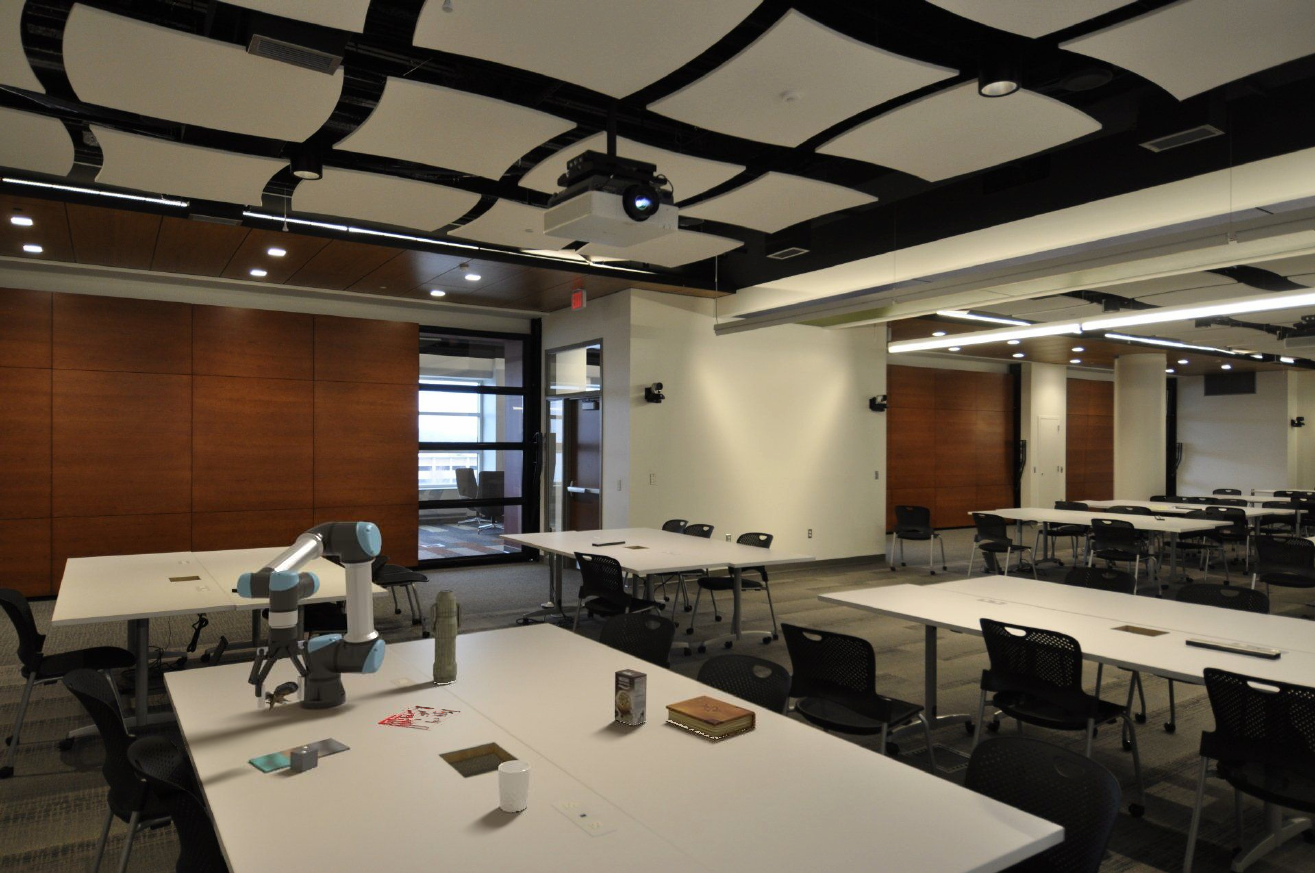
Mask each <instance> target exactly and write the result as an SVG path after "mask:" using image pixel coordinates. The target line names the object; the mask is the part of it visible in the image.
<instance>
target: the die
mask: <svg viewBox="0 0 1315 873" xmlns="http://www.w3.org/2000/svg"><path fill="white" fill-rule="evenodd" d="M318 764H319V758H318V749H317V748H313V747H309V746H304V747H301V748H298V749H296V750H293V751H291V752H290V766H289V769H291V771H294V770H295V771H294V772H298V773H302V772H303V773H306V772H308V771H310V770H312V768H313V769H315V768H317V766H318ZM307 770H308V771H307Z"/></svg>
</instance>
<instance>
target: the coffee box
mask: <svg viewBox="0 0 1315 873" xmlns="http://www.w3.org/2000/svg"><path fill="white" fill-rule="evenodd" d="M647 680H648V678H647V673H644V672H641V671H637V670H633V669H630V668H626V669H622V670H621V669H620V670H618V671H617V670H616V671H615V672H614V721H615V720H619V721H621V722H625V723H627V724H631V725H635V724H639V723H641V722H644V721H646V722H647V684H648V683H647ZM621 722H620V723H621ZM627 724H626V725H627Z"/></svg>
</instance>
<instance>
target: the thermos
mask: <svg viewBox="0 0 1315 873" xmlns="http://www.w3.org/2000/svg"><path fill="white" fill-rule="evenodd" d="M455 594H456V593H455V591H453V590H451V589H450V590H449V589H445V590H444V589H443V590H440V591H438V592H437V594H436V597H435V602H434V603H432V605H431V606H430V608H429V630H430V632H433V638H434V662H433V665H432V677H433V681H434V682H436V683H448V682H451V681H455V680H456V681H457V675H458V664H457V660H456V659H457V657H456V656H457V655H456V654H457V653H456V652H457V650H456V648H457V642H456V640H457V636H458V630H459V629H460V628H461V627H462V619H461V618H462V606H461V604H460V603H459V602H458V601H457V598H456V595H455ZM434 609H435V614H434ZM456 612H457V615H456ZM434 616H435V617H434Z"/></svg>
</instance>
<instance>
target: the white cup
mask: <svg viewBox="0 0 1315 873" xmlns="http://www.w3.org/2000/svg"><path fill="white" fill-rule="evenodd" d="M497 772H498V773H497V774H498V792H499V793H498V794H499V795H498V796H499V808H500V809H502V810H503V811H502V810H501V811H502V812H505V811H506V812H505V813H512V812H513V813H517V812H516V811H519V812H522V811H524V810H526V809H527V808H528V805H529V794H530V784H531V783H530V781H531V780H530V779H531V778H530V777H531V764H530V763H529V762H528V761H526V760H525V761H524V760H520V759H518V760H508V761H505V762H502V763H500V764H499V765H498V769H497ZM526 807H527V808H526ZM525 808H526V809H525ZM523 809H524V810H523ZM521 810H522V811H521Z"/></svg>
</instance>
